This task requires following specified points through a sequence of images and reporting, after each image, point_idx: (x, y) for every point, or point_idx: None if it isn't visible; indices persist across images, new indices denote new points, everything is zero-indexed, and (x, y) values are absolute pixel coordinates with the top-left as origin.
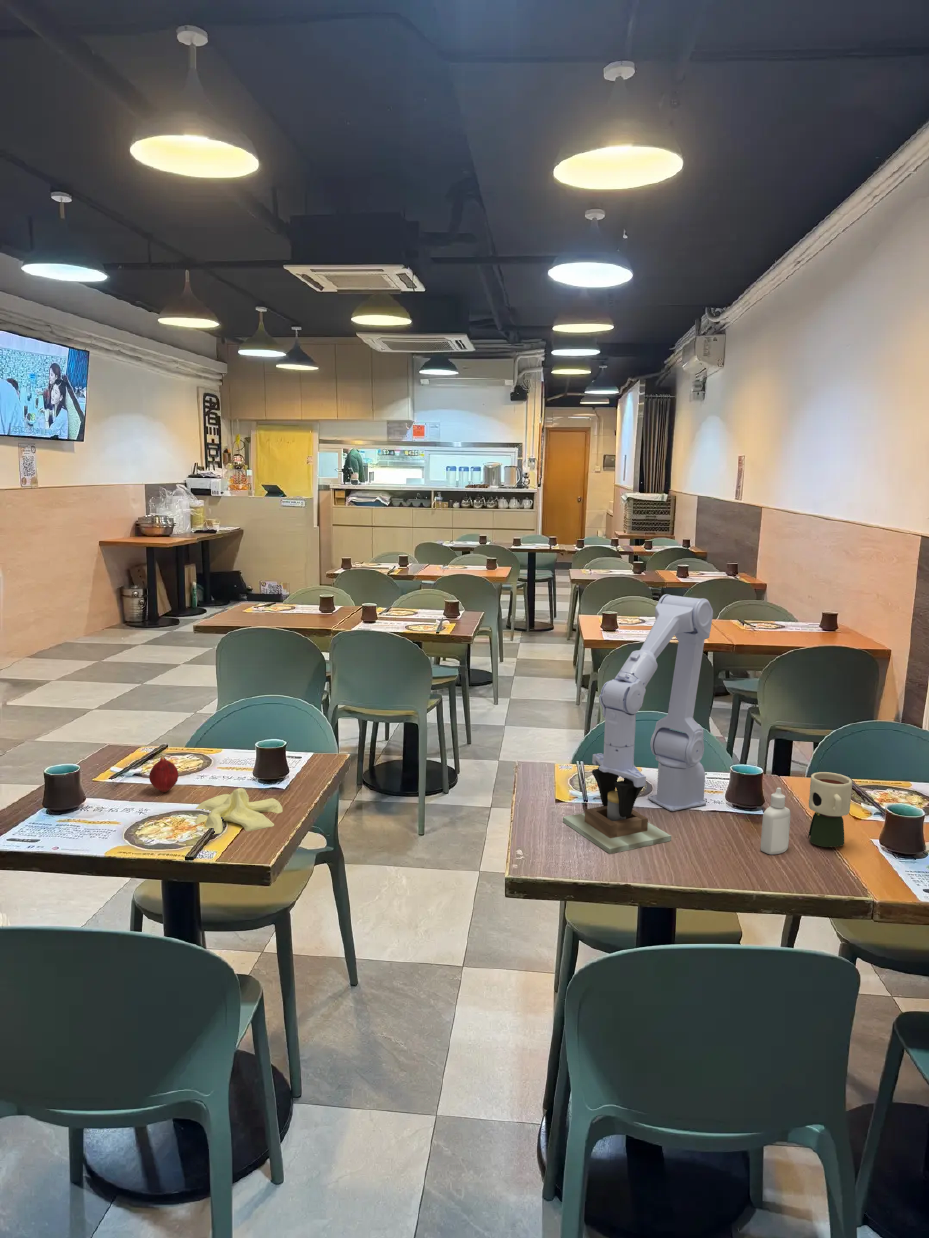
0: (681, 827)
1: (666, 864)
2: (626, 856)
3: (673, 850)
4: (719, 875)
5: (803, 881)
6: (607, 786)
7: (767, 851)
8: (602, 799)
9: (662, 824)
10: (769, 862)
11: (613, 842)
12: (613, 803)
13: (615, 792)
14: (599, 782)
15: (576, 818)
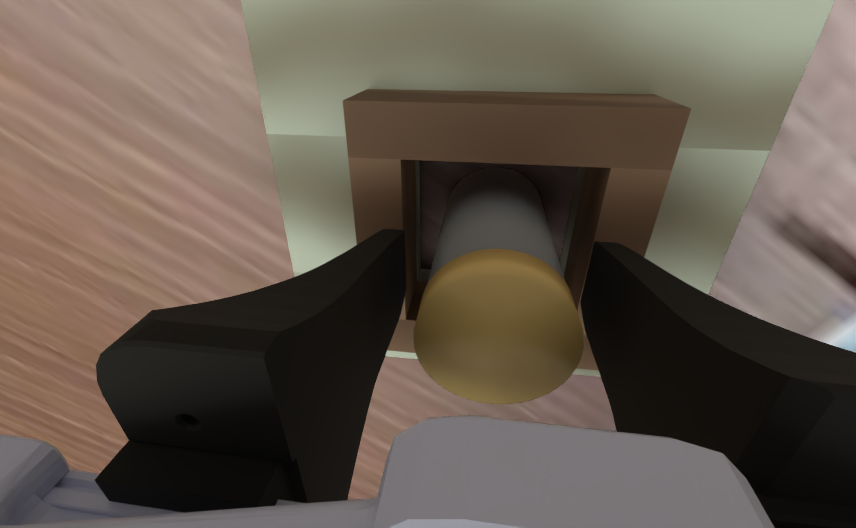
0: (403, 424)
1: (121, 186)
2: (214, 68)
3: (239, 290)
4: (39, 286)
5: (24, 420)
6: (641, 364)
7: None
8: (619, 255)
9: (453, 398)
10: None
11: (312, 70)
12: (460, 254)
13: (535, 354)
14: (714, 328)
15: (733, 72)
